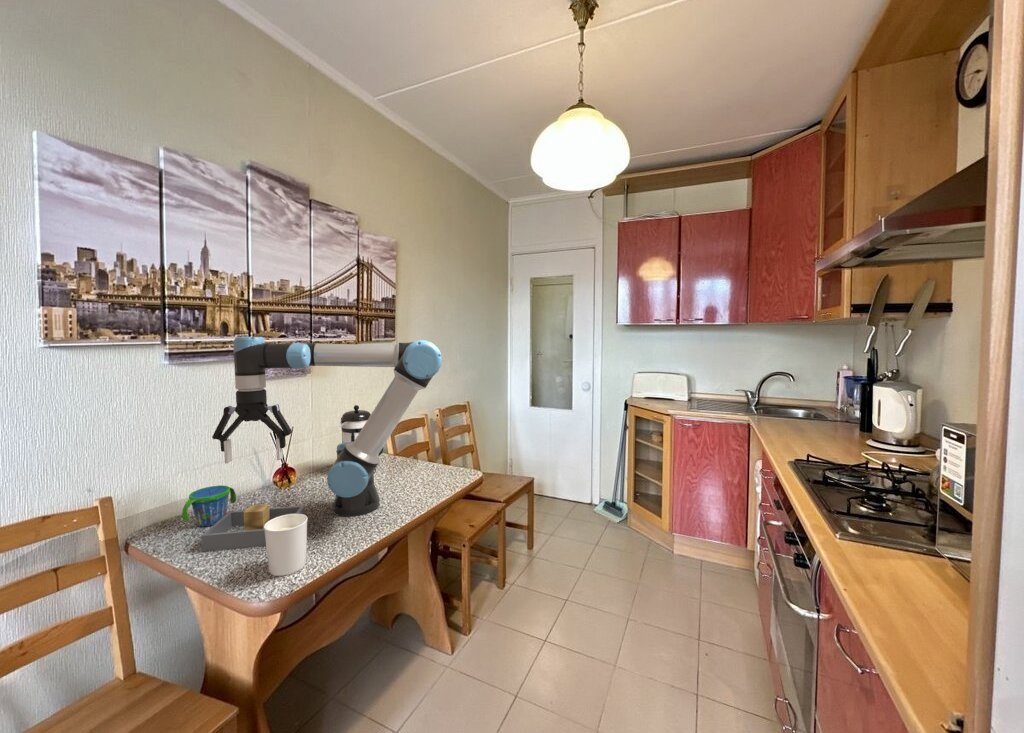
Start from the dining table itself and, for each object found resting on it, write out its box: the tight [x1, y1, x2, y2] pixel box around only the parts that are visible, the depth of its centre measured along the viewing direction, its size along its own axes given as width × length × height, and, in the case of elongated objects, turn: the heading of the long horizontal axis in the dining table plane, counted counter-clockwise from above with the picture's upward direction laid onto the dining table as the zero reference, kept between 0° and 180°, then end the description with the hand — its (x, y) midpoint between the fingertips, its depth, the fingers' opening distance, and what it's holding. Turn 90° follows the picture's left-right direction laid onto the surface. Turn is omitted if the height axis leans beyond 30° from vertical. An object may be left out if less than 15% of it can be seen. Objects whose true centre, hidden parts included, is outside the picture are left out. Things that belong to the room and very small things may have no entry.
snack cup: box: [181, 484, 237, 527], centre depth 128 cm, size 16×10×10 cm
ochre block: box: [243, 504, 270, 531], centre depth 120 cm, size 5×5×8 cm
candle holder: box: [264, 514, 309, 577], centre depth 103 cm, size 10×10×12 cm
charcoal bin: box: [200, 504, 306, 552], centre depth 121 cm, size 22×16×4 cm
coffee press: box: [339, 404, 385, 473], centre depth 176 cm, size 17×16×30 cm
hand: (254, 460), depth 119 cm, fingers open, 13 cm apart
